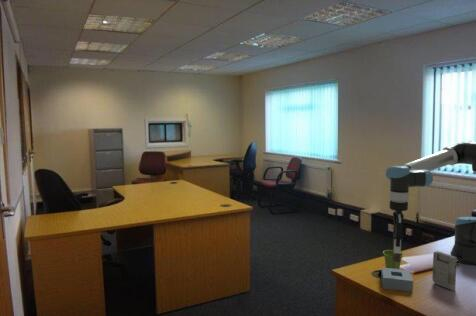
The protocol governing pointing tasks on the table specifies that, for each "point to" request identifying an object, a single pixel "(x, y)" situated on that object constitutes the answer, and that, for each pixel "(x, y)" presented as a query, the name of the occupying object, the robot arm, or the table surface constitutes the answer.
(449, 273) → the handheld gaming console
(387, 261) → the plant pot
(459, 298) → the table surface
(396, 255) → the pin
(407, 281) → the bore block
